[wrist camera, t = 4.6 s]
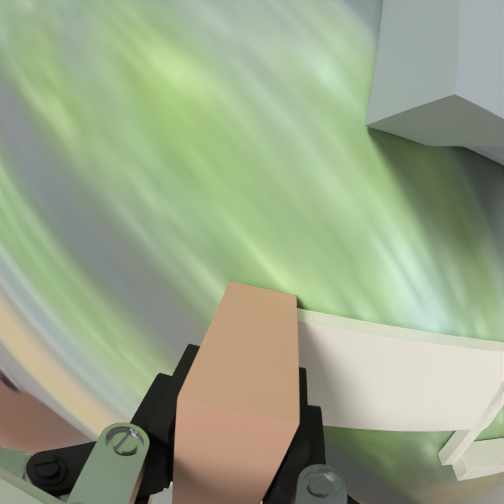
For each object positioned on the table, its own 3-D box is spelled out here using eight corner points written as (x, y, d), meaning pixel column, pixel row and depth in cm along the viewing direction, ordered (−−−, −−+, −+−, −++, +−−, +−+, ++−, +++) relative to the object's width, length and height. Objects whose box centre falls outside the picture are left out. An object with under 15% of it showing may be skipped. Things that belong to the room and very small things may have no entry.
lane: (243, 209, 11) (190, 275, 5) (615, 310, 10) (665, 351, 4) (204, 431, 15) (172, 533, 9) (542, 437, 13) (572, 489, 7)
